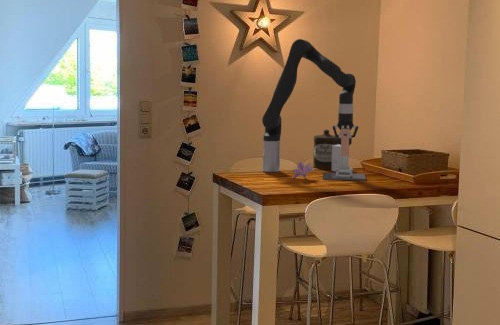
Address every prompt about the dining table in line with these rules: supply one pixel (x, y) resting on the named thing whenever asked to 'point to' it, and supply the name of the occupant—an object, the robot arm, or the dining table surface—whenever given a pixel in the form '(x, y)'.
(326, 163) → the labeled lidded canister
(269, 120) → the robot arm
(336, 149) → the skincare box
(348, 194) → the dining table surface
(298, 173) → the lily
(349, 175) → the collar stand
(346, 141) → the pink rectangular block
